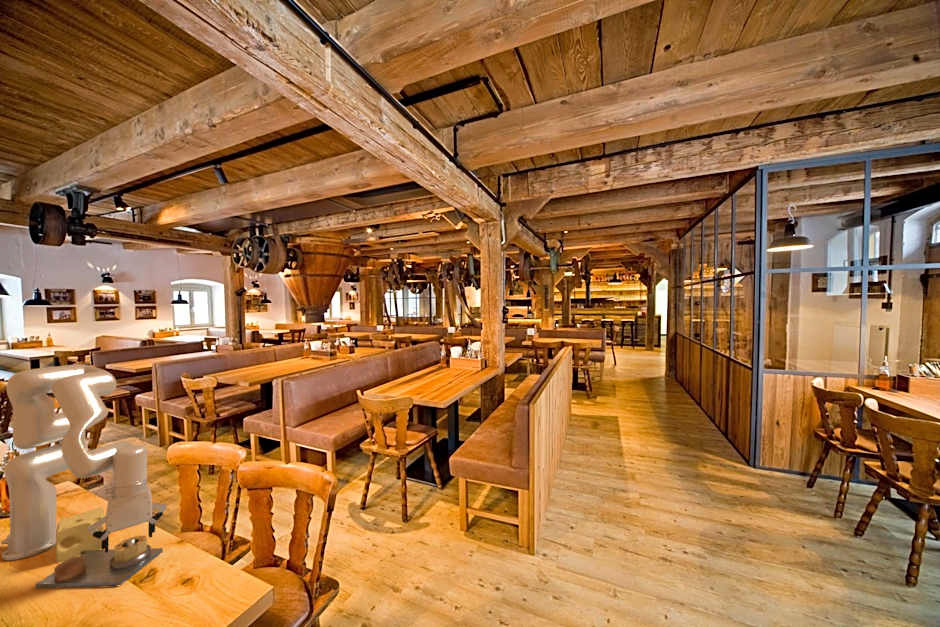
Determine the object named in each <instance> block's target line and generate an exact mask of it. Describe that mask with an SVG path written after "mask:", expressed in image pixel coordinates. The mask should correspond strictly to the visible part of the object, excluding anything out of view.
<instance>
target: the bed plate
mask: <svg viewBox="0 0 940 627" xmlns="http://www.w3.org/2000/svg"><path fill="white" fill-rule="evenodd" d="M160 553H161V554H162V553H163V547H162V548H161V547H160V548H157V547H156V548H152V547H151V554H150V555H149V556H148V557H147V558H146V559H145V560H144V561H142V562H140V563H138V564H136V565H134V566H132V567H129V568H125V569H121V570H112V569H111V568H110V560H111V559H112V557H114V549H108V552H106V553H105V549H103V550H102V549H98V550H88V551H87V552H83V553H81V554H79V556H85V557H86V570H85V571H84V572H82V573H81V574H80V575H78V576H76V577H74V578H71V579H69V580H65V581H61V582H57V581H55V571H54V572H52V573H51V574H49V575H47V576H46V577H45V578H43V579H41V580H40V581H38V582H37V583H35V585H34V587H35V588H34V589H35V590H36V589H65V588H67V589H70V588H101V587H100V586H111V587H117V586H116V585H121V584H122V583H123V582H124V581H126V582H127V581H128V580H130V579H131V578H132V577H133V576H134V575H136V574H137V573H139V572H140V571H141V570H142V569H143V568H144V567H146V566H147V565H148V564H149V563H151V562H152V561H153V560H154V559H156V558H157V557H158V556H160ZM124 583H125V582H124ZM124 583H123V584H124ZM123 584H122V585H123ZM122 585H121V586H122Z"/></svg>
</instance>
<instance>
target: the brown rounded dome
mask: <svg viewBox="0 0 940 627" xmlns="http://www.w3.org/2000/svg"><path fill="white" fill-rule="evenodd" d="M85 570H86V557H85V556H80V555H78V556H76V557H73V558H70V559H67V560H65V561H62V562H59V564H56V566H55V567H54V572H55V581H57V582H61V581H65V580H69V579H71V578H74V577H76V576H78V575H80V574H81V573H82V572H84V571H85Z"/></svg>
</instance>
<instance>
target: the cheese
mask: <svg viewBox="0 0 940 627" xmlns="http://www.w3.org/2000/svg"><path fill="white" fill-rule="evenodd" d="M103 517H105V510H104V506H100V507H97V508H94V509H92V510H89V511H86V512H82V513H79V514H75V515H72V516H68V517H65V518H61V519H59V520H58V523H57V525H56V545H55V548H56V549H55V558H56V562H57V564H58V563H59V564H60V563H62V562H64V561H66V560H68V559H71V558H74V557H79V556H80V555H82V554H84V553H85V552H87V551H88V550H102V540H100V539H98V538H96V537H93V535H92V534H91V533H90V532H89V531H88V527H89V526H91V525H92V524H94V523H96V522H97V521H99V520H100V519H102V518H103ZM96 529H97V530H99V531H102V532H103V531H104V530H105V523H104V524H102V525H101V526H99V527H98V528H96Z"/></svg>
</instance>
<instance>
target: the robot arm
mask: <svg viewBox="0 0 940 627" xmlns="http://www.w3.org/2000/svg"><path fill="white" fill-rule="evenodd" d="M116 389H117V380H116V378H115V376H114V375H113V374H112V373H111V372H109V371H107V370H104V369H102V368H99V367H96V366H92V365H89V364H83V363H80V364H79V363H78V364H69V365H68V364H66V365H59V366H47V367H39V368H31V369H26V370H23V371H22V370H21V371H19V372H18V371H17V372H16V373H14V374H13V375H11V376H10V378H8V381H7V383H6V390H5V391H6V394H7V398H8V399H9V402H10V403H11V407H12V441H13V445H14V446H15V447H16V449H19V450H30V449H33V448H39V449H36V450H32V451H27V452H26V453H22V454H20V455H17V456H15V457H14V458H12V459H10V460H9V461H8V462H7V463H6V464H5V467H4V471H3V472H4V476H5V480H6V482H7V486H8V495H9V534H8V535H7V536H6V538H5V539H3V540H1V542H0V545H7V548H6V549H5V550H4V551H3V552H2V554H1V559H2V560H5V561H16V560H22V559H26V558H29V557H32V556H35V555H38V554H40V553H43V552H45V551H47V550H49V549H51V548H53V547H56V530H57V488H56V486H55V485H54V483H52V482H50V481H48V480H47V478H48V477H51V476H53V475H56V474H60V473H62V472H65V471H67V470H69V471H70V472H71V473H72V475H73V476H74V477H77V478H80V479H88V478H90V477H95V476H97V475H100V474H103V473H105V472H108V471H111V470H112V486H111V487H110V488H107V489H105V495H110V494H111V495H110V496H109V498H108V501H107V506H106V513H105V515H104V517H103V518H102V519H100V520H99V521H97V522H96V523H94V524H92V525H91V526H89V527H88V531H89V532H90V533H91V534H92V535H93V537H96V538H98V539H100V540H102V548H101V550H105V553H106V552H108V550H109V536H110V535H111V533H115V532H118V531H123V530H126V529H128V528H132V527H135V526H138V525H140V524H144V523H146V522H147V523H148V538H153V533H156V523H157V521H158V520H159V519H161V517H162V516H163V515H164V513H165V511H166V509H167V507H168V505H167V504H166V503H160V502H159V503H158V502H153V496H152V491H151V487H150V485H148V484H147V483H148V448H147V446H146V445H143V444H135V443H133V442H131V441H127V440H121V441H117V442H114V443H111V444H107V445H104V446H99V447H97V448H93V449H90V450H86V430H88V429H89V428H91V427H93V426H94V425H96V424H98V423H99V422H101V421H103V420H104V419H105V418H106V417H107V416H108V415H109V409H108V408H107V406H106V405H105V403H104V402H103V400H102V398H101V397H102V396H103V397H104V396H107V395H108V396H109V395H110V394H113V393H114V392H115V391H116ZM48 394H53V396H54V398H55V400H56V401H57V403H58V405H59V407H60V409H61V411H62V412H57V413H56V412H55V401H54V400H53V399H52V398H51V397H50V396H49V395H48ZM58 442H59V443H58ZM53 443H58V444H55V445H51V446H47V445H49V444H53ZM42 446H46V447H44V448H43V447H42ZM40 447H42V448H40ZM155 509H156V510H158V511H157V512H156V513H155V515H154V514H153V510H155ZM102 524H104V525H105V528H104V531H103V532H102V531H99V530H97V529H96V528H98V527H99V526H101V525H102Z"/></svg>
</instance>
